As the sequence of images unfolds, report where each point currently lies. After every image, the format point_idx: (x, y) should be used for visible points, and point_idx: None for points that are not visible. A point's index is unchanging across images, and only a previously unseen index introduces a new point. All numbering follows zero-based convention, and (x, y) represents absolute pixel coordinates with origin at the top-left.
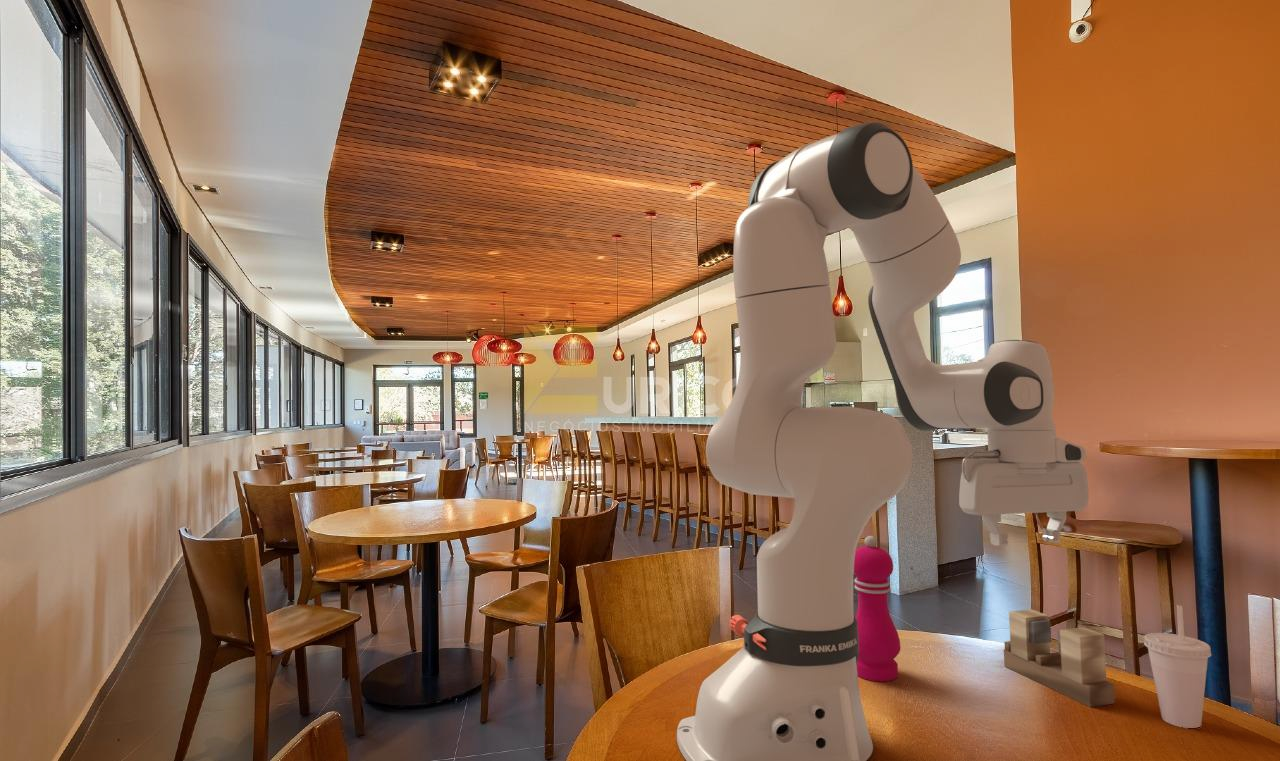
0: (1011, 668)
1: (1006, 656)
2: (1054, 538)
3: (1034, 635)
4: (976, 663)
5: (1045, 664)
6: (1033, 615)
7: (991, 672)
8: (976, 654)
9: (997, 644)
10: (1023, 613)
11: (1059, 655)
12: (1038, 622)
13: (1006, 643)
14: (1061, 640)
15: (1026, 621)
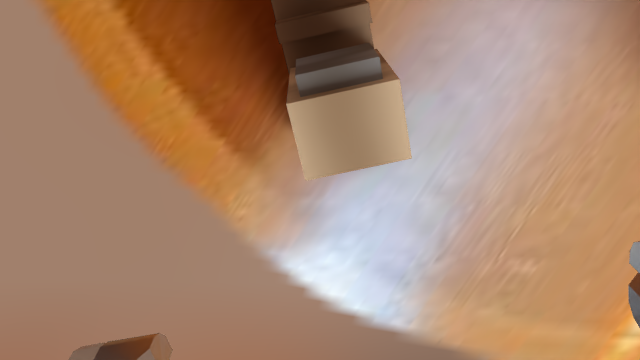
0: None
1: None
2: (129, 353)
3: (369, 48)
4: (443, 150)
5: (348, 3)
6: (345, 107)
7: (444, 87)
8: (402, 209)
9: (302, 271)
10: (370, 132)
11: (291, 20)
12: (352, 62)
13: None
14: None
15: (394, 75)
